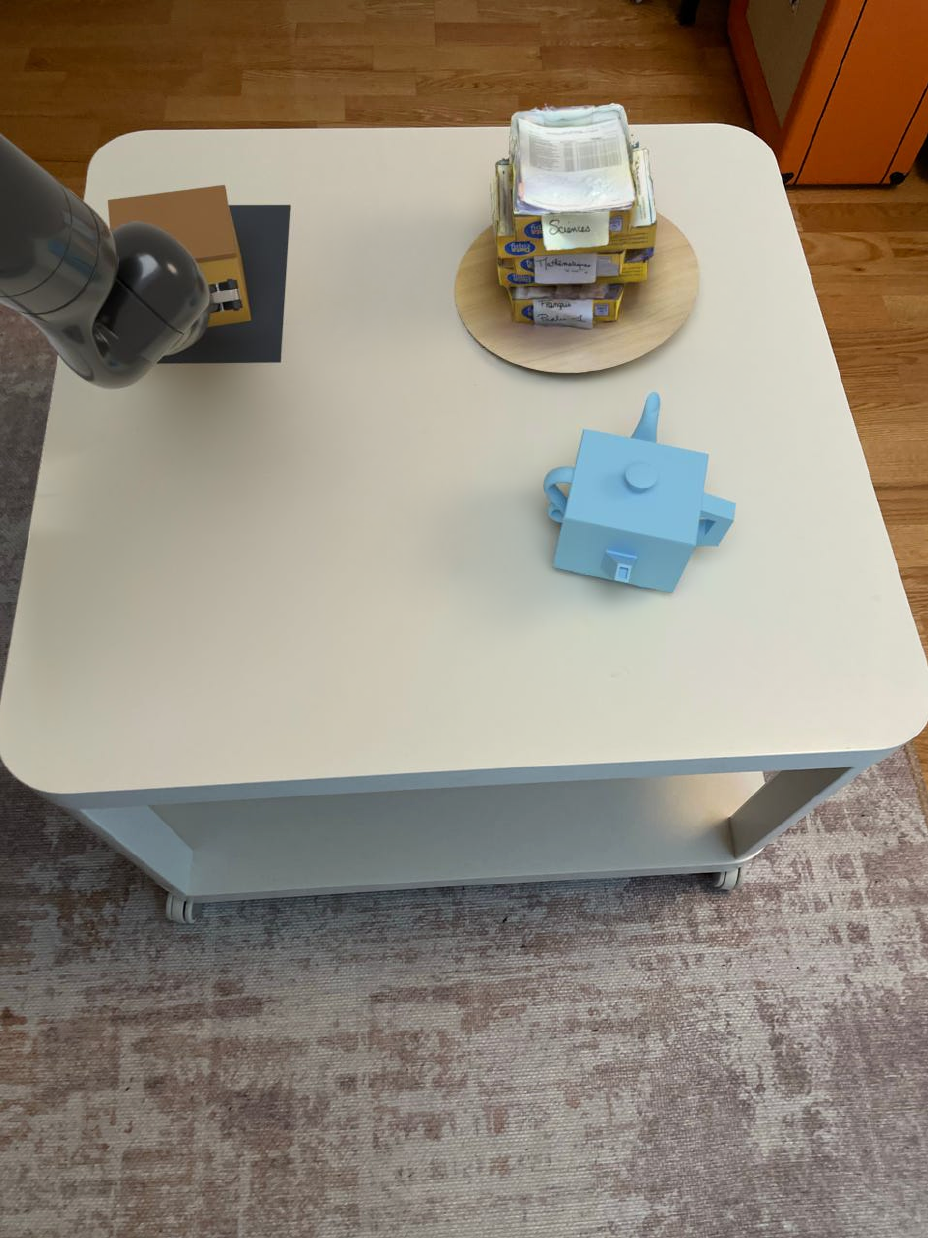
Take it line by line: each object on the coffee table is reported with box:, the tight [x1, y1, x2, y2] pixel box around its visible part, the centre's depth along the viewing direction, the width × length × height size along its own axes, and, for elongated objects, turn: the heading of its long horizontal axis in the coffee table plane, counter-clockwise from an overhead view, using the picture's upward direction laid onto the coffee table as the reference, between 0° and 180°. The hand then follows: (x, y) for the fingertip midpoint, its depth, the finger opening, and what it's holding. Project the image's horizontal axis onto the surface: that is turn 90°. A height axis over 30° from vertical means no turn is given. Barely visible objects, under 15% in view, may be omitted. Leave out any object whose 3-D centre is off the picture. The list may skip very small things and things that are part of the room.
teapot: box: [543, 391, 737, 594], centre depth 81 cm, size 16×18×11 cm
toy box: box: [107, 184, 251, 327], centre depth 93 cm, size 9×11×9 cm
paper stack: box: [454, 102, 701, 374], centre depth 91 cm, size 25×25×17 cm
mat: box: [155, 204, 292, 365], centre depth 98 cm, size 16×22×1 cm
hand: (180, 304), depth 91 cm, fingers closed
